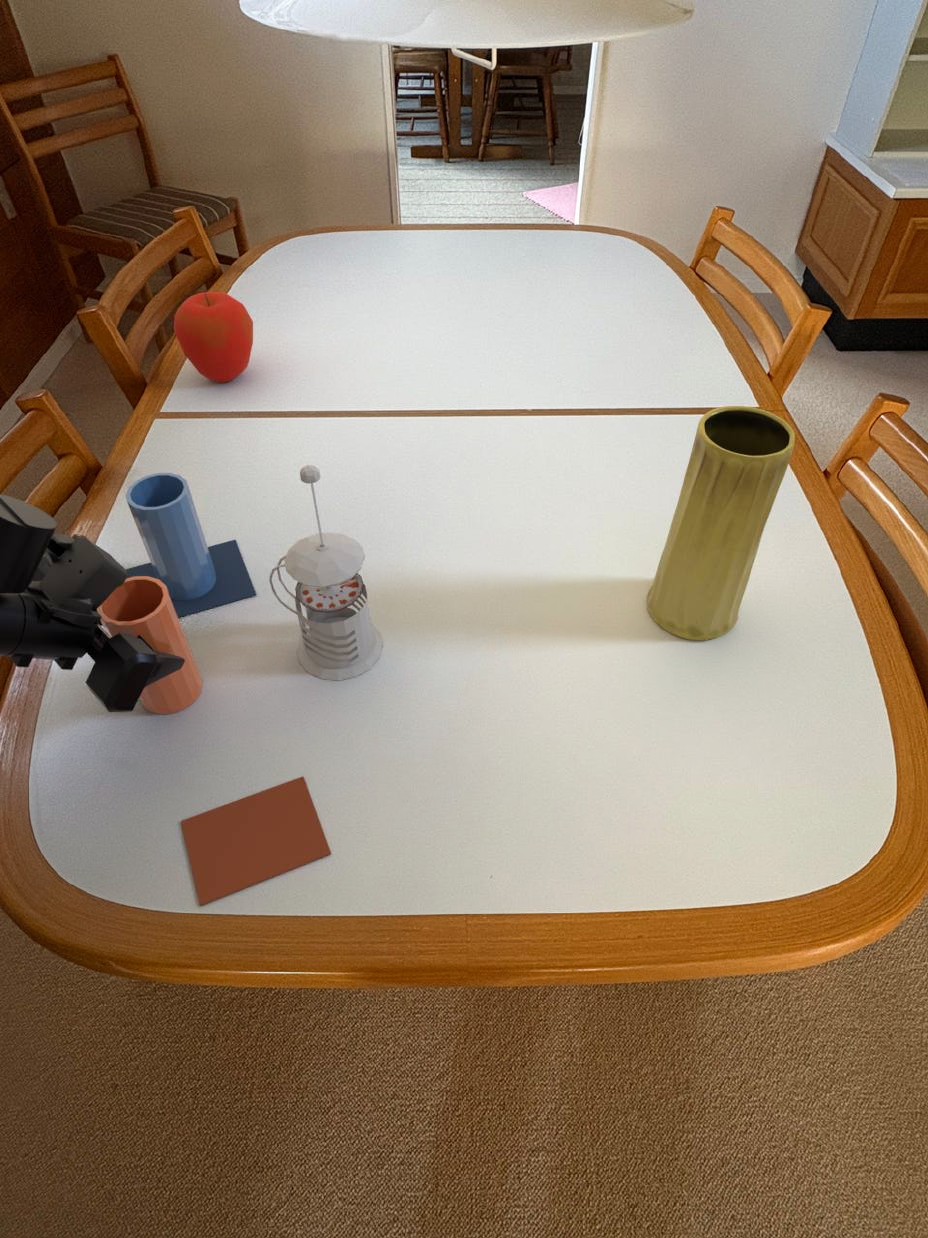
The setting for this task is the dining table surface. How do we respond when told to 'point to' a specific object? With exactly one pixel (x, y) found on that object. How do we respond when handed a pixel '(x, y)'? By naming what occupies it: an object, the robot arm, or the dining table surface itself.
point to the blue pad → (227, 587)
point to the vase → (719, 520)
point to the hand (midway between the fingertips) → (158, 639)
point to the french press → (330, 601)
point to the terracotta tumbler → (154, 639)
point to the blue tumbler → (172, 534)
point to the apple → (215, 335)
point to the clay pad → (253, 840)
